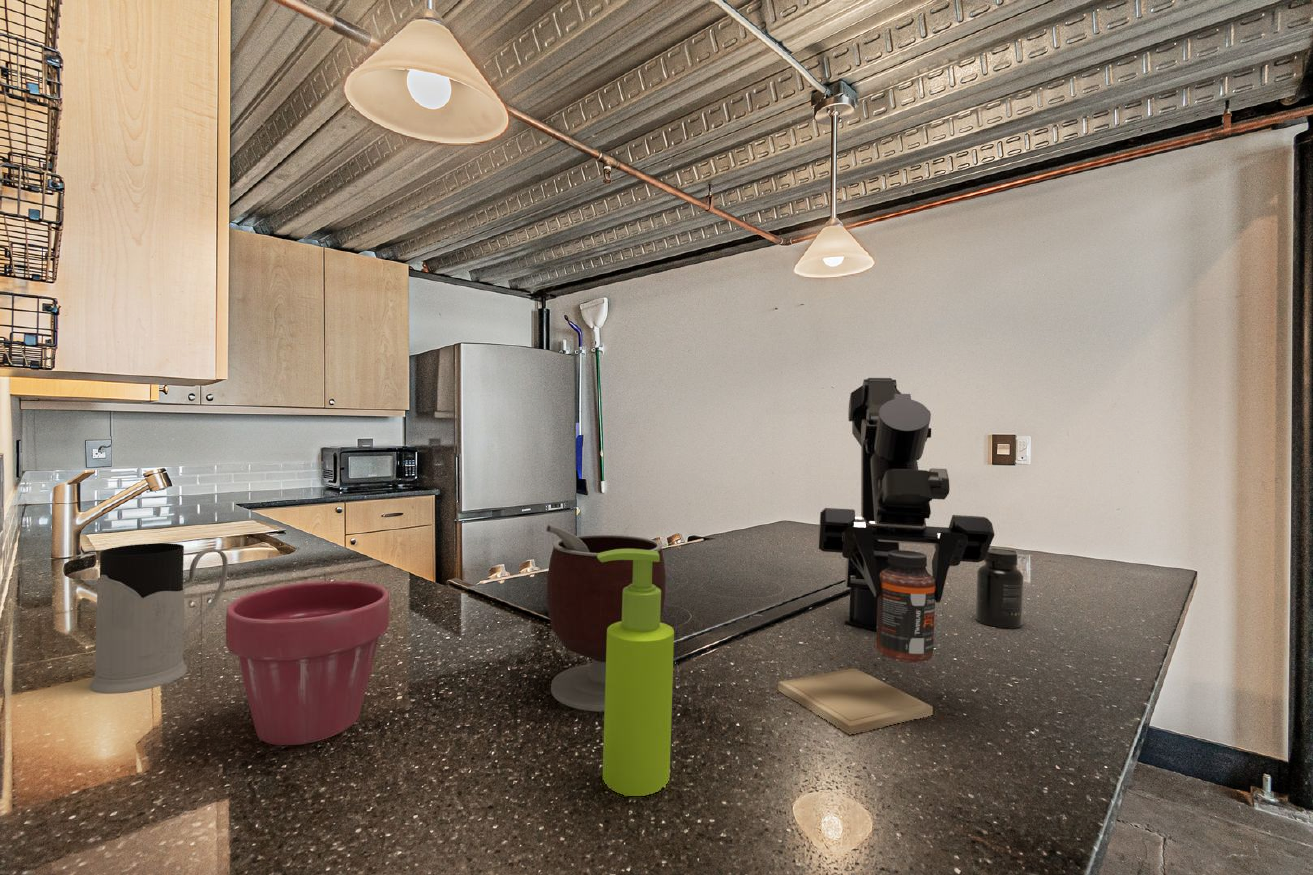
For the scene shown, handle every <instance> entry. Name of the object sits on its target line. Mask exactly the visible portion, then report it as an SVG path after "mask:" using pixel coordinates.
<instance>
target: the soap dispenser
mask: <svg viewBox="0 0 1313 875" xmlns="http://www.w3.org/2000/svg"><path fill="white" fill-rule="evenodd" d="M659 557H660V556H659V553H658V551H652V550H643V549H615V550H610V551H605V552H601V553H598V554H597V558H598V560H599V561H601V562H607V561H612V560H633V582H632V584H630V585H628V586H627V587H625V588H624V589H623V594H622V621H620V622H617V623H614V624H612V625H610V626H609V627H608V628H607V648H606V681H605V711H604V716H603V717H604V718H603V719H604V720H603V721H604V722H603V750H602V753H603V754H602V781H603V780H604V782H605V784H607V786H608V787H610V788H612V790H613V791H615V792H617V793H620V794H623V795H624V796H623V797H627V796H645V795H649V794H653V793H655V792H658V791H659V790H661V788H662V787H664V786H665V785H666V784H667V783H668V781H669V782H670V779H669V778H670V777H671V776H670V774H671V747H672V746H671V741H672V738H671V737H672V715H673V714H672V712H673V711H672V710H673V709H672V708H673V680H674V678H673V677H674V650H675V649H674V648H675V647H674V646H675V644H674V643H675V630H674V628H673V627H672V626H671V625H668V624H667V623H663V622H662V621H660V611H661V590H660V589H659V588H657V587H656V586H655V585H653V584H652V561H654V562H659ZM604 782H603V783H604ZM605 784H604V785H605ZM668 784H669V783H668Z"/></svg>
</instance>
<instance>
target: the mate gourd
mask: <svg viewBox="0 0 1313 875" xmlns="http://www.w3.org/2000/svg"><path fill="white" fill-rule="evenodd" d="M546 532H547V533H550V534H551V533H552V534H554V535H556V536H557V537H558V538H559V539H557V540H555V541H554V542H553V543H552V551H551V555H550V560H549V565H548V570H547V576H546V577H547V578H546V581H547V582H546V601H547V603H546V604H547V609H548V610H547V612H548V617H549V623H550V626H551V629H552V631H553V633H554V634H555V635H556V637H557V638H558V640H559V641H560V643H562V644H561V645H563V647H564V648H565V649H566V650H568V651H570V652H572V653H575V654H578V655H580V656H584V657H587V658H590V659H592V663H589V664H581V665H578V666H573V667H571V668H568V669H565V670H563V671H561V672H559V673H558V674H556V675H555V676H554V677H553V678H552V680H551V685H550V691H551V696H553V698H554V699H555V700H556V701H558V703H559V702H560V704H562V705H565V706H567V707H570V708H573V709H577V710H582V711H587V710H588V711H589V712H605V681H606V648H607V628H608V627H609V626H610V625H612V624H614V623H617V622H620V621H622V594H623V589H624V588H625V587H627V586H628V585H630V584H632V582H633V560H612V561H607V562H601V561H599V560H598V558H597V554H598V553H601V552H605V551H610V550H615V549H643V550H652V551H658V553H659V556H660V557H659V562H654V561H652V584H653V585H655V586H656V587H657V588H659V589H660V590H661V611H660V622H662V621H661V620H662V618H663V613H664V606H665V601H666V585H667V583H666V582H667V581H666V580H667V579H666V577H667V576H666V567H665V566H666V565H665V558H664V553H663V550H662V548H663V544H662V543H661V542H660V541H657V540H654V539H650V538H647V537H641V536H640V537H639V536H632V535H622V534H621V535H619V534H587V535H586V534H583V535H575V534H573V533H571V532H570V531H569V532H568V531H567V530H565V529H562V528H561V527H557V526H554V525H552V524H548V525H547V526H546ZM588 711H587V712H588Z"/></svg>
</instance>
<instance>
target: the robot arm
mask: <svg viewBox="0 0 1313 875" xmlns="http://www.w3.org/2000/svg"><path fill="white" fill-rule="evenodd" d="M897 385H898V384H897V380H896V379H893V378H892V377H868V378H866V379H865V378H864V379H863V382H862V385H861V386H859V387H858V388H855V390H853V391H852V392H850V396H849V402H848V411H847V412H848V414H847V415H848V417H847V418H848V422H851V428H852V429H851V431H852V432H851V434H852V435H853V437H854V438H855V439H856V441H857V443H858V444H859V446H860V450H861V451H860V452H861V453H860V454H861V457H860V458H861V459H860V460H861V461H860V462H861V463H860V465H861V467H860V470H861V471H860V473H861V474H860V478H861V479H860V481H861V482H860V484H861V485H860V486H861V487H860V490H861V491H860V492H861V493H860V494H861V496H860V497H861V498H860V501H861V502H860V505H861V506H860V509H861V510H860V513H861V514H860V515H861V516H856V510H855V509H853V508H835V507H834V508H833V507H824V508H823V509H822V510H821V511H820V512H819V513H820V514H819V526H818V549H819V550H820V551H821V552H823V553H824V552H827V553H840V554H842V555H841V556H842V557H843V559H846V562H845V570H844V571H845V578H844V580H845V581H844V582H845V586H846V588H849V589H850V590H849V612H848V614H849V616H848V617H847V618H845V619H844V621H843V622H844V623H845V624H847V625H852V626H856V627H860V628H862V629H863V628H864V629H867V630H871V631H876V632H877V601H878V598H879V595H880V585H879V574H880V572H881V571H882V570H884V569H886V568H887V567H889V564H888V562H887V561H888V552H889V551H893V550H900V544H901V543H902V544H913V545H915V544H917V545H929V546H930V545H932V546H934V554H933V557H932V559H931V569H932V570H931V572H932V574H931V575H932V576H933V578H934V579H935V584H936V586H935V604H936V603H938V604H939V603H941V601H942V598H943V594H944V588H945V585H946V581H947V575H948V572H949V569H950V567H958V566H959V565H960V564H961V562H966V563H976V564H978V563H980V562H984V559H985V557H986V554H987V552H988V550H990V546H991V544H992V542H993V539H994V538H995V530H994V526H993V523H992V522H991V521H990V520H989V519H988V518H987V517H985V516H978V515H976V516H975V515H960V514H952V516H951V519H950V521H949V525H948V527H947V526H946V527H944V526H943V527H942V526H929V525H928V526H927V521H926V519H930V517H931V514H932V510H931V504H930V502H932V500H943V501H944V500H946V498H947V497H948V496H949V495H950V488H951V487H950V479H949V478H950V477H949V474H948V470H947V468H937V467H936V468H934V467H933V468H931V467H930V469H929V470H926V469H925V470H924V469H923V470H922V469H919V464H918V461H919V460H921V458H922V456H923V453H924V449H925V446H926V442H927V441H928V439H930V438H932V427H929V426H930V425H931V423H930V422H931V418H932V413H931V411H930V410H929V409H928V408H927V406H925V405H924V404H923V403H921V402H919V401H917V400H914V399H912V396H911V393H902V392H901V391H900V390H899V389H897Z"/></svg>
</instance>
